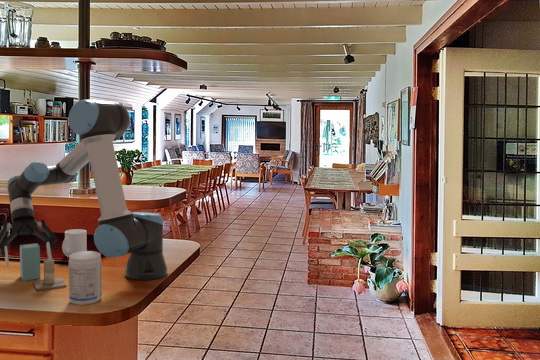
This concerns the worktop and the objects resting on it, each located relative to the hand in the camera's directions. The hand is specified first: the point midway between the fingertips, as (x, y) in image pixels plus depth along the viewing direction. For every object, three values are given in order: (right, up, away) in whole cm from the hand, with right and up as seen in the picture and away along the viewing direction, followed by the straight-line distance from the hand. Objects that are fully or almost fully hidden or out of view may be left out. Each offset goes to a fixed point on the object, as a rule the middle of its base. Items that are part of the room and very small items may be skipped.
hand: (29, 261), depth 165 cm
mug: (+4, -3, +28) cm, 28 cm away
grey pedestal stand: (+10, -7, -6) cm, 13 cm away
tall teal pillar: (0, -6, +1) cm, 6 cm away
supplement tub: (+27, -9, -18) cm, 34 cm away
